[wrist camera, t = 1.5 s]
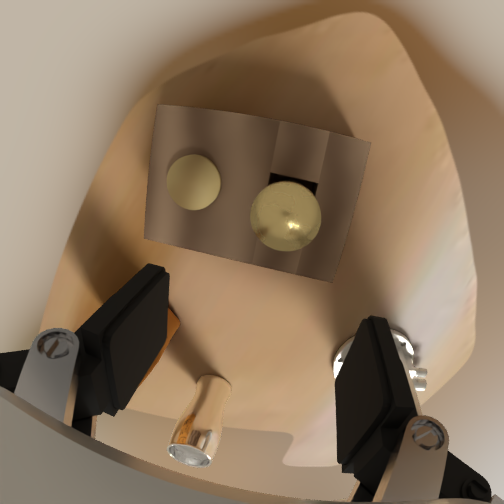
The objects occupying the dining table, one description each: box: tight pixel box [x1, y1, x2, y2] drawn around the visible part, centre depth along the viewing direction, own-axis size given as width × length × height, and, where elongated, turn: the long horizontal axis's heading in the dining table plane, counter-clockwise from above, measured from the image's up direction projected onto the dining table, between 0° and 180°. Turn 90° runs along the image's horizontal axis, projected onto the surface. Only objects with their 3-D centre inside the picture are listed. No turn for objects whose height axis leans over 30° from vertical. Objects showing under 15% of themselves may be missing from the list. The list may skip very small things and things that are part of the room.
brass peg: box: [250, 180, 321, 251], centre depth 26 cm, size 5×5×8 cm
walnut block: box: [144, 104, 371, 283], centre depth 32 cm, size 20×14×9 cm
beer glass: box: [167, 375, 232, 468], centre depth 43 cm, size 7×7×15 cm
